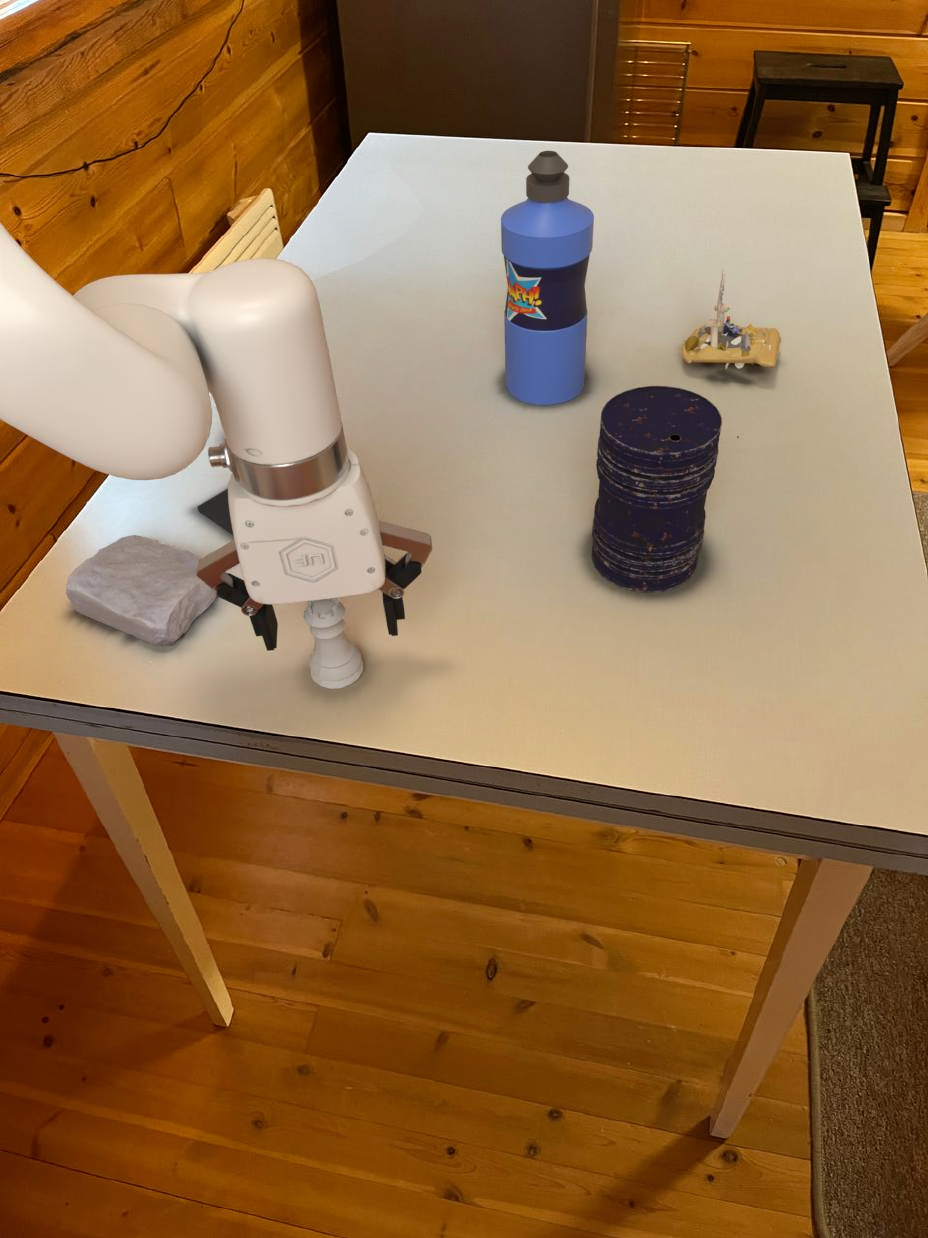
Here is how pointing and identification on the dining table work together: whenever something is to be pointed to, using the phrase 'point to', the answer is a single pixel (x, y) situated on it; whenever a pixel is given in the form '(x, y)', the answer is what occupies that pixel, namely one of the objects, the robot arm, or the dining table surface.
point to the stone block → (141, 589)
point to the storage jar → (653, 486)
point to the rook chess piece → (331, 645)
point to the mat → (218, 510)
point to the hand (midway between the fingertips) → (333, 630)
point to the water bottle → (546, 286)
